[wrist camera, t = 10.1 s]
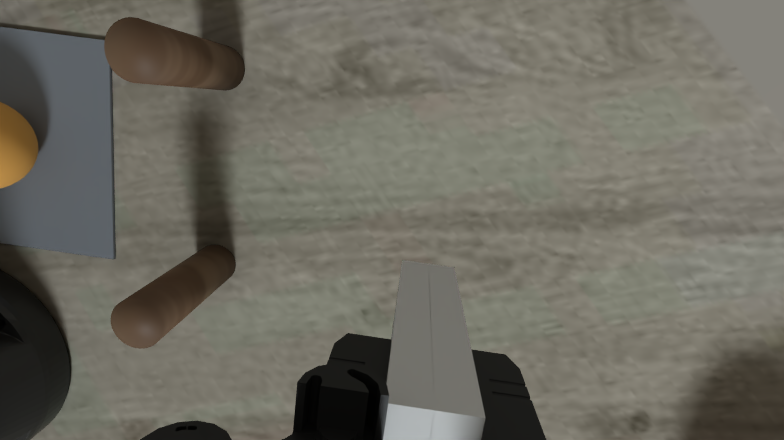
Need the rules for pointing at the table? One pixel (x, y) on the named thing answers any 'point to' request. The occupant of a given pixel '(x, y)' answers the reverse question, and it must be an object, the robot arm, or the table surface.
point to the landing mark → (60, 143)
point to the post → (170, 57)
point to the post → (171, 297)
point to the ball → (15, 146)
